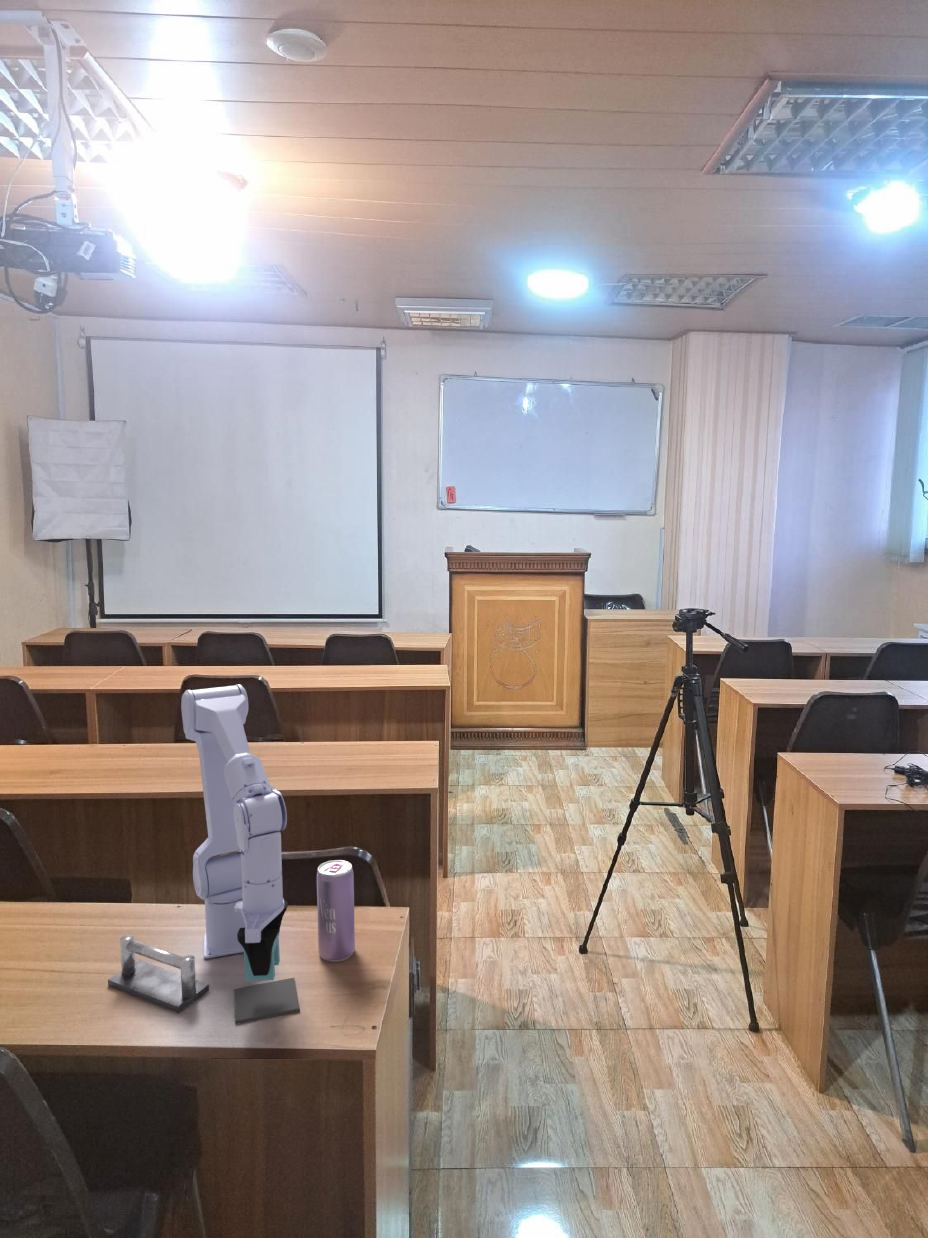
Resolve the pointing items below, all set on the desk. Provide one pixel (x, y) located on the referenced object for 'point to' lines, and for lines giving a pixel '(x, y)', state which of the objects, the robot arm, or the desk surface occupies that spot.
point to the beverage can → (335, 910)
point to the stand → (157, 976)
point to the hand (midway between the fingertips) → (264, 963)
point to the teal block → (274, 961)
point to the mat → (265, 1000)
